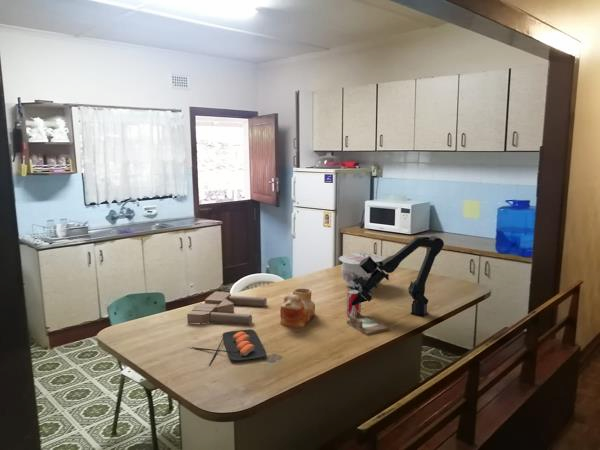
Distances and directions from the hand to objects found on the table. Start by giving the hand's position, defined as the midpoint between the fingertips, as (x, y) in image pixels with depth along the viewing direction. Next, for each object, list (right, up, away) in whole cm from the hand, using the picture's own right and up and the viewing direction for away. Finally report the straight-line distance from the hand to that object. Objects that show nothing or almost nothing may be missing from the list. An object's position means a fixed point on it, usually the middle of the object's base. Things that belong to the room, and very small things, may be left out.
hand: (350, 302), depth 225 cm
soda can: (+1, -7, +1) cm, 7 cm away
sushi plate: (-55, -14, -36) cm, 67 cm away
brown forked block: (-59, -7, +7) cm, 60 cm away
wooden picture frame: (+6, -9, -13) cm, 17 cm away
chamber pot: (+12, +1, +48) cm, 50 cm away
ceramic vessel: (-26, -8, -5) cm, 28 cm away
